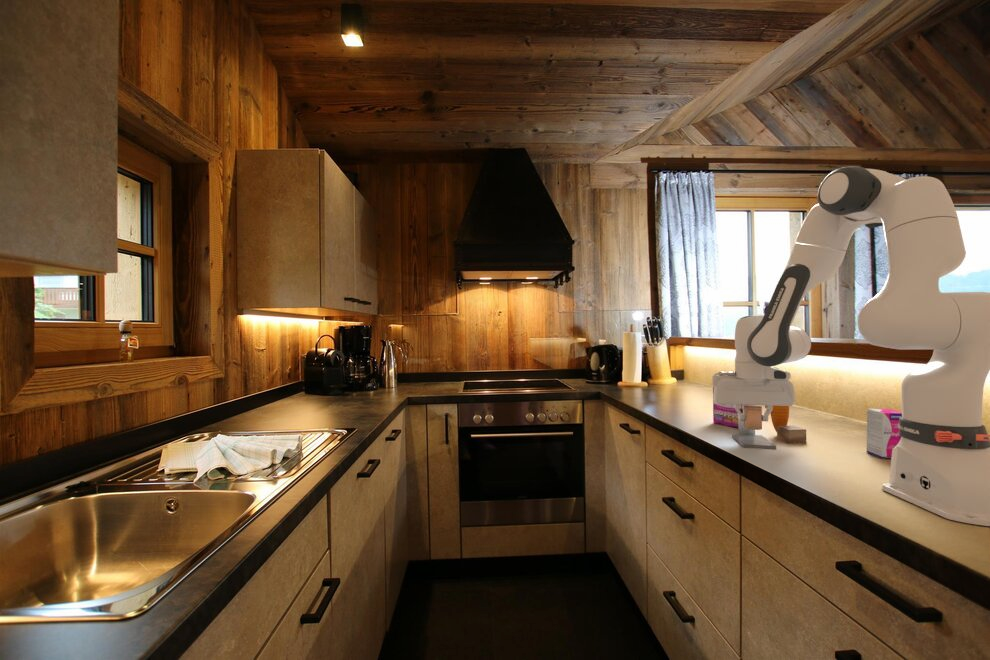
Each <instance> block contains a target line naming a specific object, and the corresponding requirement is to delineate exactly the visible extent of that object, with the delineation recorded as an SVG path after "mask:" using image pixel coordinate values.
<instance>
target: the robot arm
mask: <svg viewBox="0 0 990 660" xmlns="http://www.w3.org/2000/svg"><path fill="white" fill-rule="evenodd" d="M816 196H817V204H815V205H814V206H812V207H811V208H810V210H809V212H808V213H807V215H806V216H805V218H804V220H803V223H802V224H801V226H800V229H799V230H798V233H797V236H796V238H795V241H794V244H793V247H792V250H791V253H790V256H789V259H788V261H787V264H786V266H785V269H784V270H783V272H782V274H781V276H780V278H779V280H778V282H777V284H776V286H775V289H774V291H773V293H772V296H771V298H770V300H769V303H768V305H767V307H766V310H765V313H764V314H762V313H760V314H758V313H757V314H751V315H750V314H749V315H746V316H743V317H740V318H739V319H738V320H737V322H736V324H735V329H734V330H735V331H734V348H735V353H736V355H735V359H734V371H718V372H716V373H715V374H714V375H713V376H712V386H713V385H714V394H713V393H712V400H713V399H714V401H715V402H716V403H717V404H731V405H734V408H735V410H736V411H737V413H738V419H739V420H740V421H745V414H743V413H741V412H740V410H739V409H741V405H758V406H764V408H765V412H764V413H762V422H769V416H770V415H771V412H772V410H773V406H789V407H793V406H794V405H795V403H796V392H795V387H794V384H793V383H792V381H790V380H791V377H792V376H791V373H790V371H787V370H784V369H780V368H778V367H776V366H778V365H781V364H786V363H787V364H788V363H792V362H793V363H794V362H796V361H799V360H802V359H804V358H805V357H807V356H808V355H809V353H810V352H811V350H812V340H811V337H810V335H809V334H808V333H807V331H806V330H804V329H802V328H800V327H797V326H794V325H793V326H792V324H793V322H794V320H795V317H796V315H797V314H798V310H799V308H800V306H801V304H802V303H803V300H804V298H805V297H806V296H807V295H808V293H809V292H810V291H812V290H813V289H814V288H816V287H817V286H819V285H821V284H823V283H825V282H826V281H829V280H830V279H832V278H833V277H834V276H835V275H836V274H837V272H838V271H839V268H840V267H841V266H842V263H843V261H844V258H845V256H846V253H847V250H848V247H849V244H850V242H851V241H850V240H851V238H852V236H853V234H854V233H855V231H857V229H858V228H860V227H863V226H865V227H866V228H868V229H873V228H878V227H883V233H884V239H885V243H886V252H887V260H888V272H887V278H886V281H885V282H884V285H883V287H882V288H881V289H880V290H879V292H878V293H877V294H875V295H874V296H873V297H872V298H871V299H869V300H867V302H865V304H864V305H863V306H862V307H861V309H860V311H859V312H858V317H857V329H858V331H859V333H860V335H861V337H862V338H863V339H864V340H865V341H866V342H867V343H868V344H869V345H871V346H876V347H882V348H886V349H888V348H889V349H894V350H902V351H903V350H907V351H908V350H932V351H933V352H932V356H931V357H930V359H929V361H928V362H927V363H926V364H925V365H923V367H921V368H918V369H916V370H914V371H912V372H910V373H908V374H907V375H906V376H905V377H904V378H903V380H902V383H901V412H902V417H900V418H899V424H898V428H899V435H900V436H901V439H900V441H899V443H898V444H897V445H896V446H895V447H894V448H893V450H892V457H891V459H890V469H889V481H888V482H885V483H883V484H882V486H881V487H882V488H881V489H882V491H885V492H887V493H889V494H891V495H894V496H896V497H898V498H900V499H902V500H905V501H906V502H909V503H912V504H913V505H915V506H918V507H920V508H922V509H925V510H926V511H929V512H931V513H932V514H936V515H938V516H941V517H943V518H945V519H947V520H951V521H955V522H959V523H964V524H969V525H970V524H971V525H972V524H973V525H976V526H984V527H985V526H986V527H990V434H989V433H988V432H987V428H986V426H985V425H984V424H983V399H984V396H983V395H984V386H985V384H986V383H985V382H986V380H987V377H988V374H989V373H990V292H988V291H964V292H963V291H961V292H941V290H940V288H939V287H940V286H939V281H940V278H942V277H944V276H946V275H948V274H950V273H952V272H954V271H955V270H957V269H958V268H959V267H960V266H961V265H962V263H963V262H964V260H965V258H966V253H967V252H966V247H965V243H964V238H963V234H962V230H961V225H960V222H959V217H958V214H957V209H956V207H955V205H954V203H953V200H952V197H951V195H950V194H949V191H948V189H947V188H946V186H945V184H944V183H943V182H942V181H941V180H940V179H938V178H936V177H932V176H927V175H926V176H925V175H923V176H915V177H910V178H909V177H902V176H900V175H898V174H897V175H896V174H894V173H889V172H887V170H886V171H885V170H880V169H875V168H865V167H862V166H857V165H853V166H844V167H843V166H842V167H839V168H835V170H832V171H831V172H829V173H828V174H827V175H826V176H825V177H824V179H823V180H822V181H821V183H820V185H819V187H818V190H817V195H816ZM718 375H720V376H718ZM723 375H726V376H723Z"/></svg>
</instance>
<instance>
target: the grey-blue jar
mask: <svg viewBox="0 0 990 660" xmlns="http://www.w3.org/2000/svg"><path fill="white" fill-rule="evenodd" d="M743 414H744V413H743ZM737 429H738V434H739V435H756V430H752V429H746V428H744V421H740V420H739V419H738V428H737Z"/></svg>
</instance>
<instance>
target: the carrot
mask: <svg viewBox="0 0 990 660" xmlns="http://www.w3.org/2000/svg"><path fill="white" fill-rule="evenodd" d="M770 418H771V422H772V425H773V429H774V430H775V432H776V433H777V426H788V421H789V418H790V406H773V410H772V412H771V413H770Z"/></svg>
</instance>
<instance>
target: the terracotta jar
mask: <svg viewBox="0 0 990 660" xmlns="http://www.w3.org/2000/svg"><path fill="white" fill-rule="evenodd" d="M762 406H763V405H744V414H745V421H744V428H746V429H752V430H755V431H759V430H760V431H761V430H762V429H763V421H762V414H763V408H762Z"/></svg>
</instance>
